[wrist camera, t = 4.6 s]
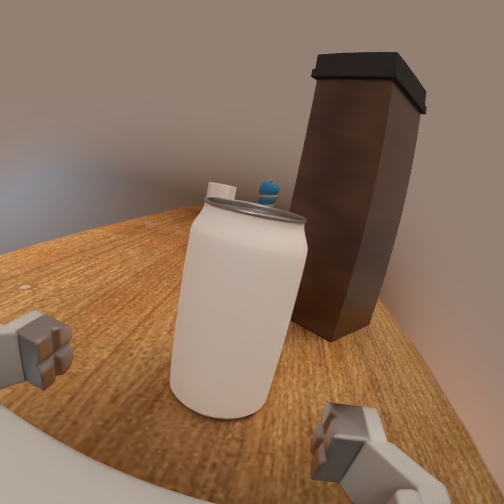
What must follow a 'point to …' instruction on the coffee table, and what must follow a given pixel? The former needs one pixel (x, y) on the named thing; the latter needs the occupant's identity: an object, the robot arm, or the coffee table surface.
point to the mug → (221, 191)
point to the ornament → (268, 193)
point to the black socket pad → (372, 71)
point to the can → (235, 305)
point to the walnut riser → (351, 198)
